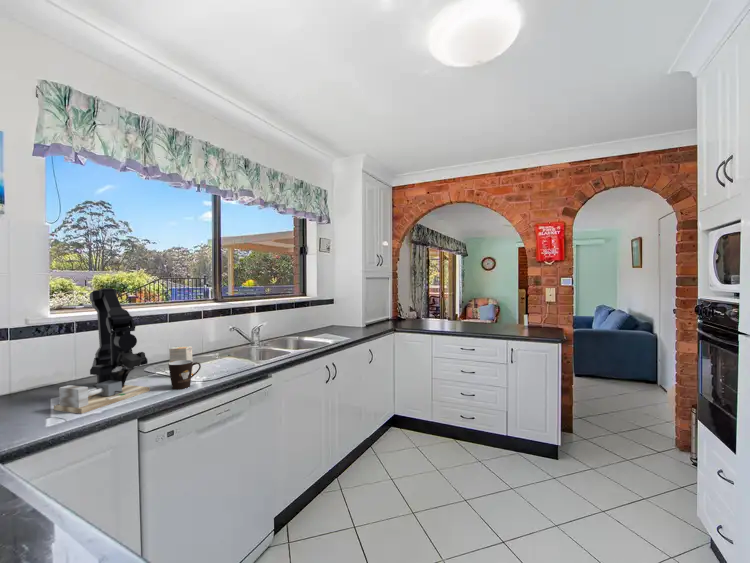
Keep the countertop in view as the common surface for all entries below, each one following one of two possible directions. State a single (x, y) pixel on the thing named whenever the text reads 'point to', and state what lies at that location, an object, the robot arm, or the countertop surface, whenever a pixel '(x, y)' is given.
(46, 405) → the countertop surface
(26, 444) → the countertop surface
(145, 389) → the bench
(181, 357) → the supplement box
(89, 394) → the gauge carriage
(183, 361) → the coffee mug
